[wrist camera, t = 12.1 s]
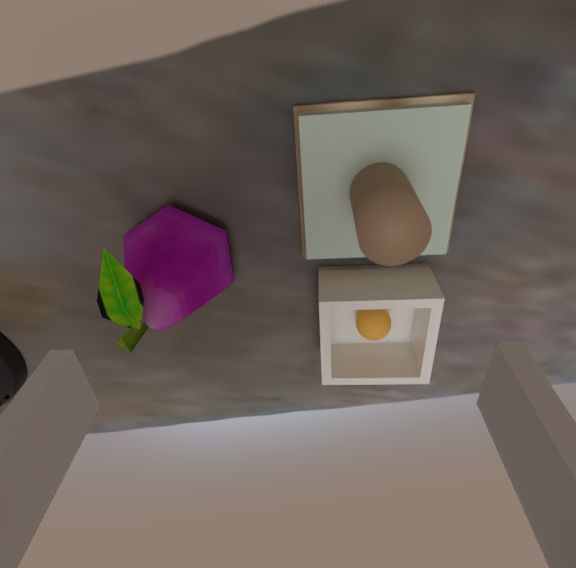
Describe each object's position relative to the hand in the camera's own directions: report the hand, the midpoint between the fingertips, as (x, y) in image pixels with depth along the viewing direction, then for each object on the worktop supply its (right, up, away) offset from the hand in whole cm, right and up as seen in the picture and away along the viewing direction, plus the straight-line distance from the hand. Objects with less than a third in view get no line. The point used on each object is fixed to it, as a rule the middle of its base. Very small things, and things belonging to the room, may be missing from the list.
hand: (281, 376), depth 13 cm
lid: (+8, +12, +22) cm, 26 cm away
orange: (+9, -1, +28) cm, 30 cm away
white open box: (+9, 0, +31) cm, 32 cm away
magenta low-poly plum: (-10, +7, +28) cm, 31 cm away
